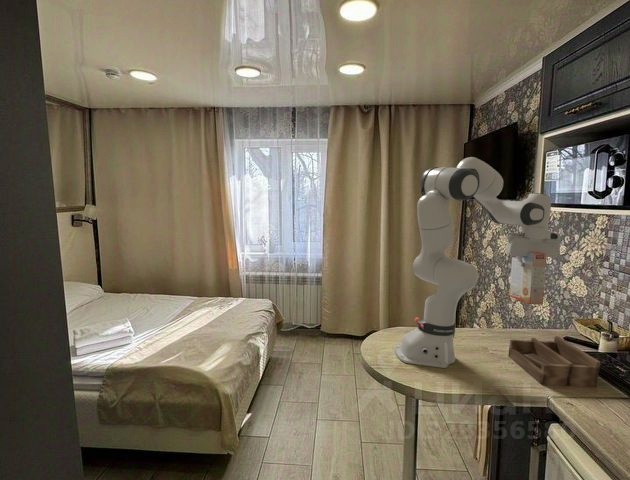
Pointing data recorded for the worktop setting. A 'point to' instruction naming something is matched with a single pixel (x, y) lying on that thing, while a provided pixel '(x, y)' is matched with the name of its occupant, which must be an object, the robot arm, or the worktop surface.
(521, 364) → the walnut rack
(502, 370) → the worktop surface
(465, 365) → the worktop surface
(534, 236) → the robot arm
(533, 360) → the dark stained offcut
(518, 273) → the cracker box
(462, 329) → the worktop surface
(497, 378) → the worktop surface
